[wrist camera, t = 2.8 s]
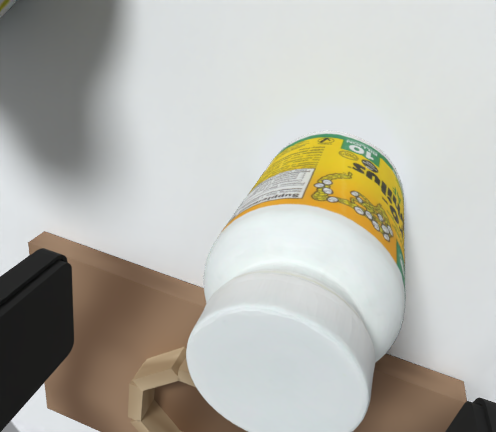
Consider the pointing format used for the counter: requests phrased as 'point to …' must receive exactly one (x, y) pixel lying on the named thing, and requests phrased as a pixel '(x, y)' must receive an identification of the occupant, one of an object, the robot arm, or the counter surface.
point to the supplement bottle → (304, 290)
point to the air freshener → (5, 6)
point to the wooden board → (174, 358)
